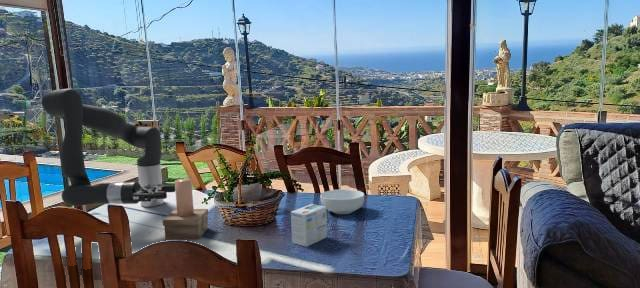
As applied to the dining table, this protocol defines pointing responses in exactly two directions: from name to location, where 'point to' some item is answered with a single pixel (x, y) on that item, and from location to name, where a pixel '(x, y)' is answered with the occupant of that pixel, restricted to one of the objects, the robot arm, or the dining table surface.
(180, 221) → the tan square block
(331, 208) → the cereal bowl
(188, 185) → the tan cylinder
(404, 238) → the dining table surface
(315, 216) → the light bulb box
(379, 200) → the dining table surface
